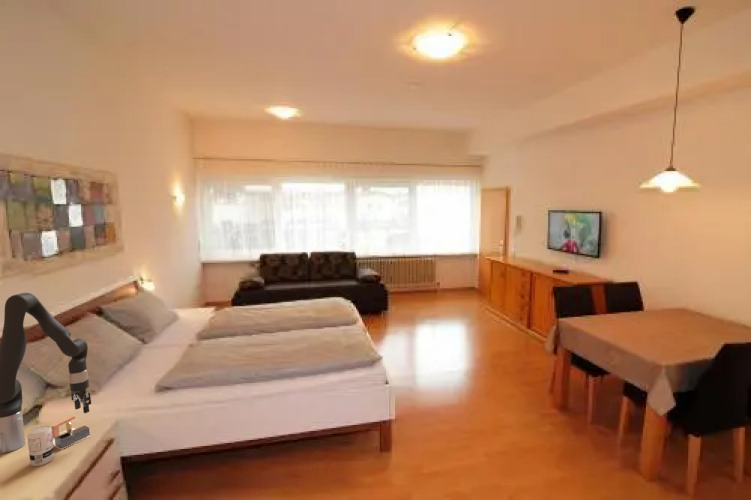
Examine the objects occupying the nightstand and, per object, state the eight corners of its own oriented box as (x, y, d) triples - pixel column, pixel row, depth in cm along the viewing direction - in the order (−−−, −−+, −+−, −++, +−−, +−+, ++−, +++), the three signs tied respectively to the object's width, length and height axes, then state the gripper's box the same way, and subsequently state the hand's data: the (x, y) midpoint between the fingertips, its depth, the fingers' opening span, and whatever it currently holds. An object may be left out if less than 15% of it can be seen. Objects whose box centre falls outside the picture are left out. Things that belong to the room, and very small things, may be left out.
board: (61, 450, 181) (61, 449, 181) (44, 440, 190) (44, 439, 189) (89, 437, 191) (89, 436, 191) (72, 428, 200) (72, 427, 200)
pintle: (68, 439, 190) (67, 424, 189) (66, 438, 191) (65, 423, 190) (73, 437, 192) (71, 422, 191) (71, 436, 192) (70, 421, 192)
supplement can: (29, 461, 172) (26, 430, 171) (53, 453, 179) (50, 422, 177) (31, 469, 167) (28, 437, 166) (55, 460, 173) (52, 429, 172)
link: (61, 448, 181) (60, 440, 181) (55, 445, 184) (54, 437, 184) (90, 435, 192) (89, 427, 192) (84, 432, 195) (83, 425, 194)
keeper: (55, 438, 190) (54, 426, 190) (52, 438, 191) (51, 425, 190) (75, 427, 200) (74, 416, 200) (73, 427, 201) (72, 415, 200)
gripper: (63, 379, 190) (66, 411, 191) (77, 385, 183) (80, 417, 184) (80, 374, 196) (83, 404, 198) (94, 379, 189) (98, 410, 191)
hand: (82, 410), depth 191 cm, fingers open, 8 cm apart
